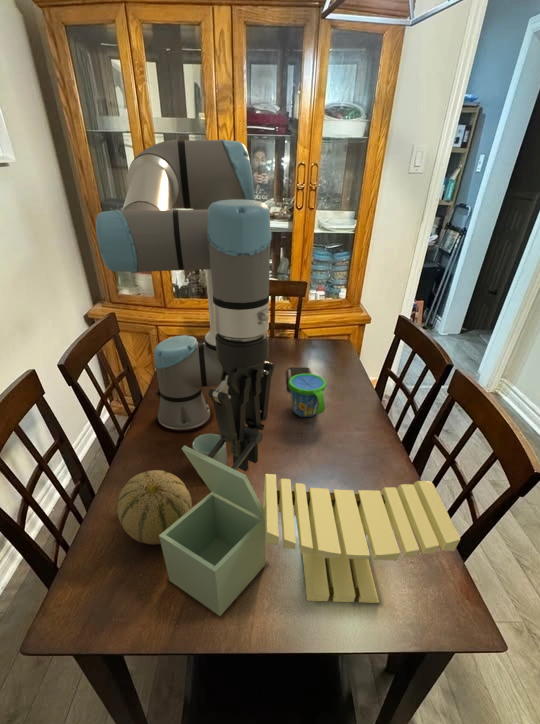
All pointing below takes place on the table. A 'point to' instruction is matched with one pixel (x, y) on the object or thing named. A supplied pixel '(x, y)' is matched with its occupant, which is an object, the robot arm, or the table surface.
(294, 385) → the snack cup
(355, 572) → the slatted curved stool
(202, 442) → the cup
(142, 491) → the cantaloupe
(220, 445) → the pale green box lid
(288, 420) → the table surface
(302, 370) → the phone
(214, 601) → the green box
